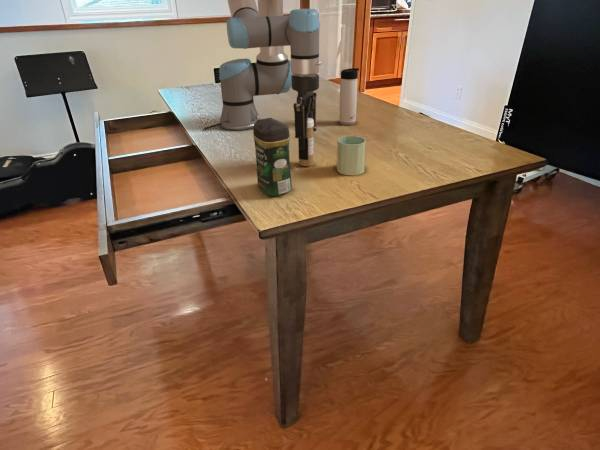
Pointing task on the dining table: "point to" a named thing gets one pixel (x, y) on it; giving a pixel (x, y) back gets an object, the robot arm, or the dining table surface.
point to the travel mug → (348, 96)
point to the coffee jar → (272, 156)
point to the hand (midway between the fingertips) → (306, 155)
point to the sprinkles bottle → (309, 144)
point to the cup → (351, 155)
